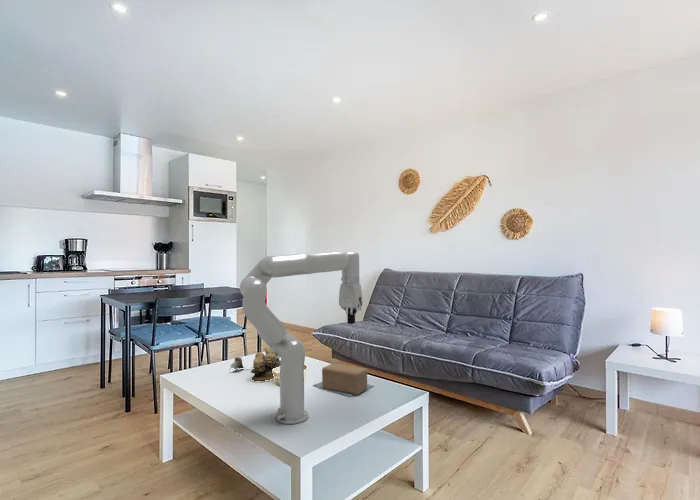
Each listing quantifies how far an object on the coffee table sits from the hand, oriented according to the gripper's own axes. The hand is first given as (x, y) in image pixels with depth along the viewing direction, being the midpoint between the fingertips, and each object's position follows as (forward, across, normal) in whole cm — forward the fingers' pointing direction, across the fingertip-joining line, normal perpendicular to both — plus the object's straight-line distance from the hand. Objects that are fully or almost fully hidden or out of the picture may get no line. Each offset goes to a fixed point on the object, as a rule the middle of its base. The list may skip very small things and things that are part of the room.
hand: (351, 323), depth 170 cm
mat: (+35, -19, +15) cm, 43 cm away
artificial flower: (+36, -77, 0) cm, 85 cm away
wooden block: (+30, -5, +14) cm, 33 cm away
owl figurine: (+35, -59, 0) cm, 69 cm away
